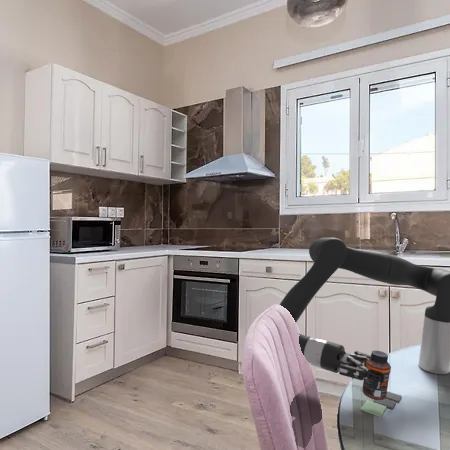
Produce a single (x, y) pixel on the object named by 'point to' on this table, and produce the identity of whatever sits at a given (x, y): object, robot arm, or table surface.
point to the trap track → (381, 404)
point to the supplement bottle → (373, 387)
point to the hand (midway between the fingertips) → (387, 374)
